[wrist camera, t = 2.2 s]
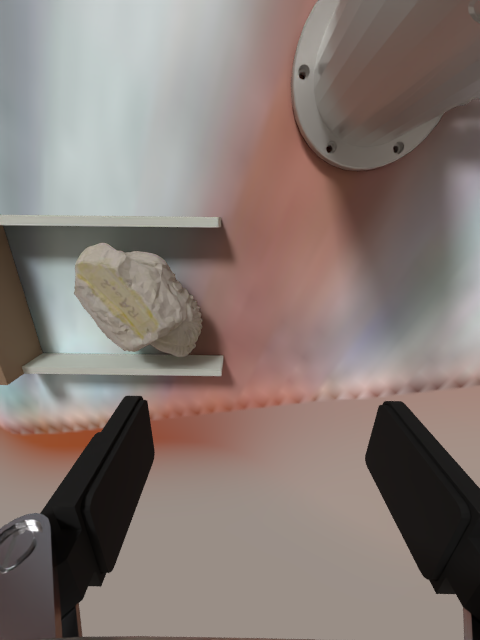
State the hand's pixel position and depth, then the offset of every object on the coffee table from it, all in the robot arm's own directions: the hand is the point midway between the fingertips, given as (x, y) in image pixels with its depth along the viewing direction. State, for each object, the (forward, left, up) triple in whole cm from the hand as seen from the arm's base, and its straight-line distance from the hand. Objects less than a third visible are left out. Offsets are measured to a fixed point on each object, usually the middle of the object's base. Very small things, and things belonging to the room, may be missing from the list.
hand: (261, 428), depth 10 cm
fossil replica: (+10, 0, -18) cm, 21 cm away
